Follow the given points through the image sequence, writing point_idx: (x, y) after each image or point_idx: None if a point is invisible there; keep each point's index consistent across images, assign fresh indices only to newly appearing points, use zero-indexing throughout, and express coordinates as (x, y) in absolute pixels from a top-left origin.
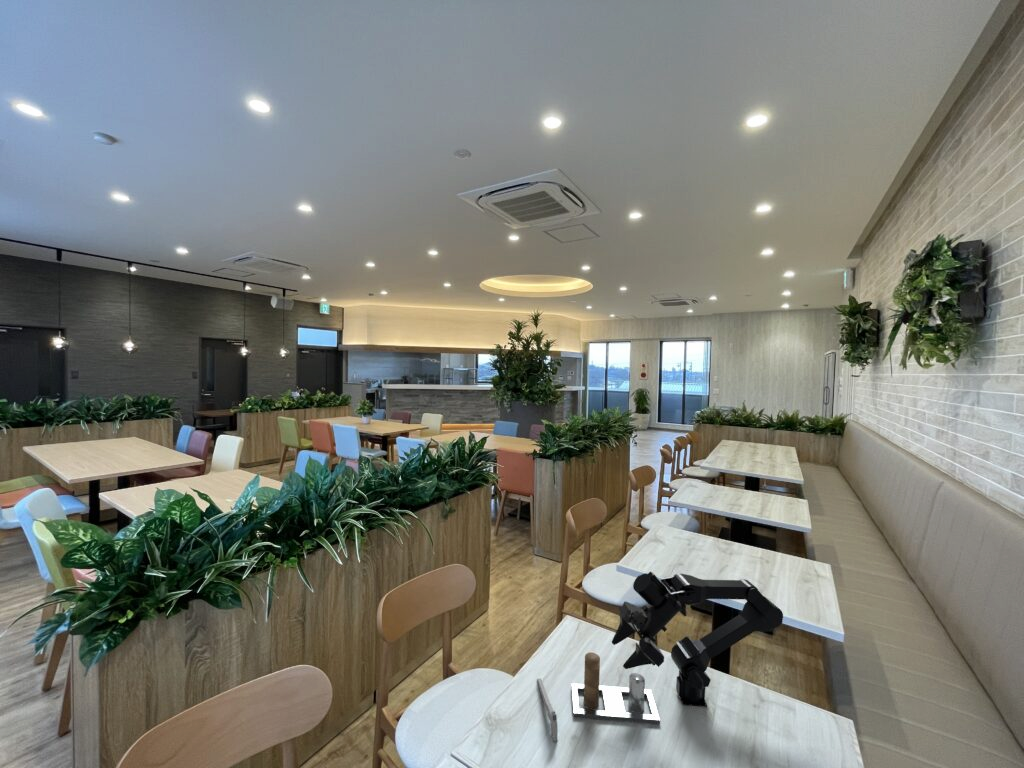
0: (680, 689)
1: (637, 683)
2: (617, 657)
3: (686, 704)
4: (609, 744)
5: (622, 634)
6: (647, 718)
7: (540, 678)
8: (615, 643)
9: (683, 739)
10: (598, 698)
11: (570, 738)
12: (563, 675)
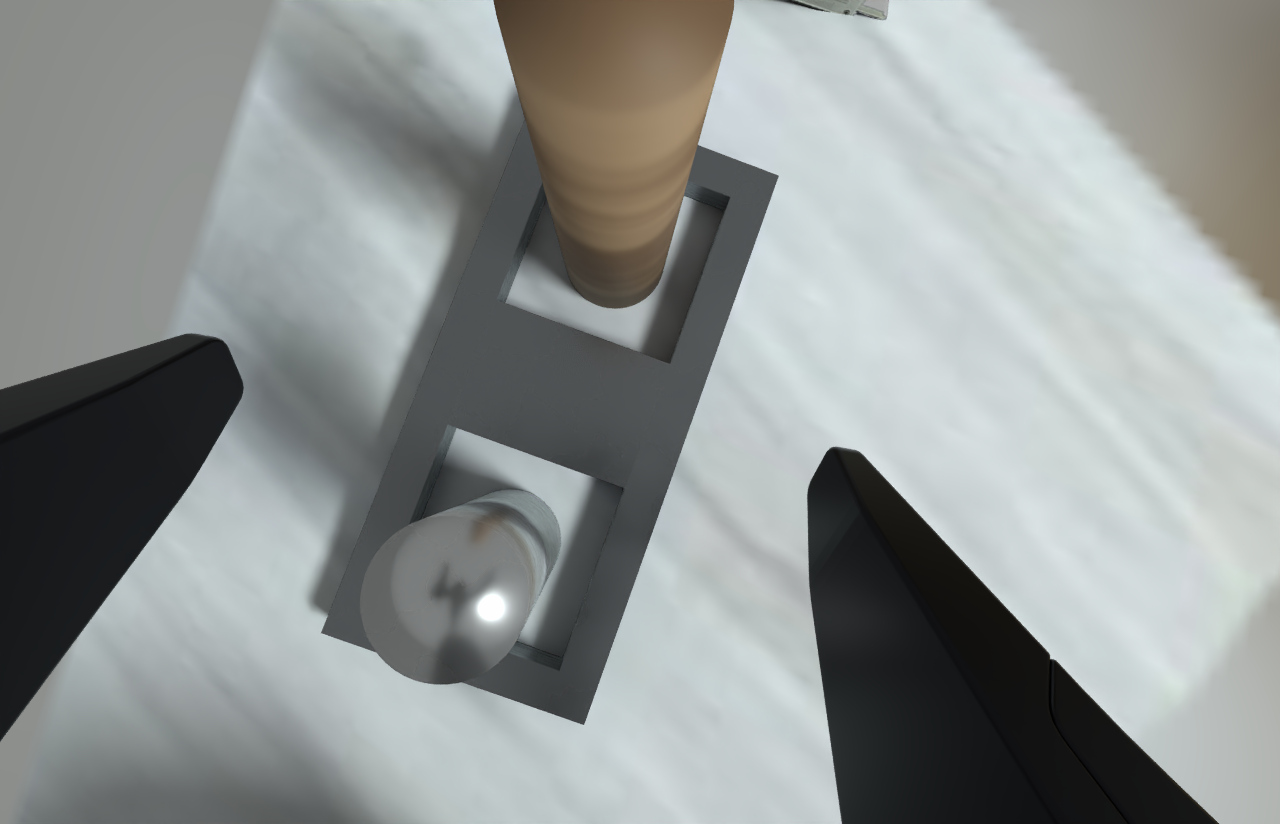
0: None
1: (382, 566)
2: None
3: None
4: (305, 230)
5: (895, 741)
6: (359, 551)
7: (883, 11)
8: (814, 512)
9: (196, 710)
10: (576, 276)
11: (409, 27)
12: (882, 181)
